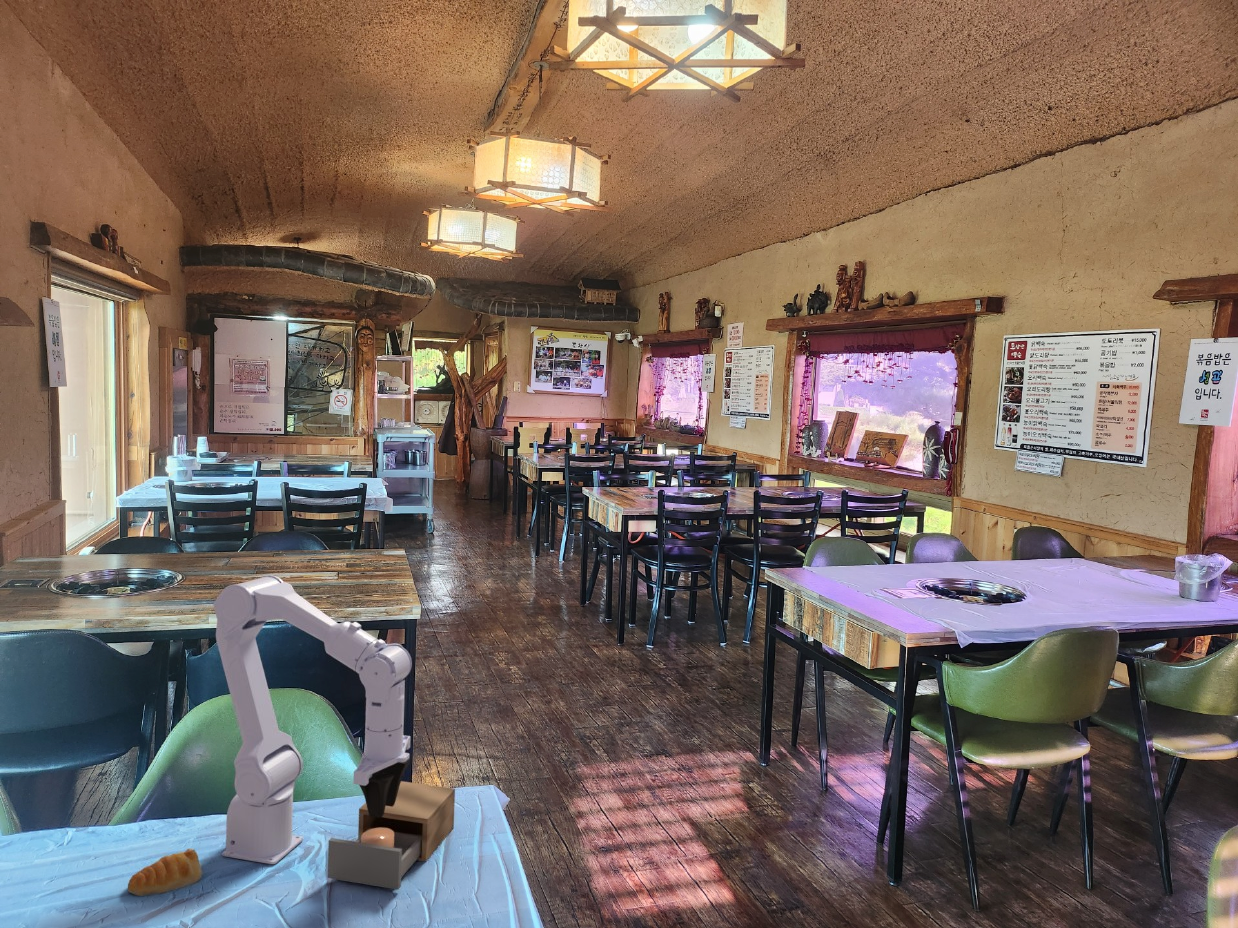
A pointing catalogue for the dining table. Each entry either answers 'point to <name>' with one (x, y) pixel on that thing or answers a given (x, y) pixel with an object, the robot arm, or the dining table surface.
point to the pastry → (167, 874)
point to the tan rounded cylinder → (379, 837)
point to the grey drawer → (373, 860)
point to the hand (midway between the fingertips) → (381, 810)
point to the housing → (416, 815)
